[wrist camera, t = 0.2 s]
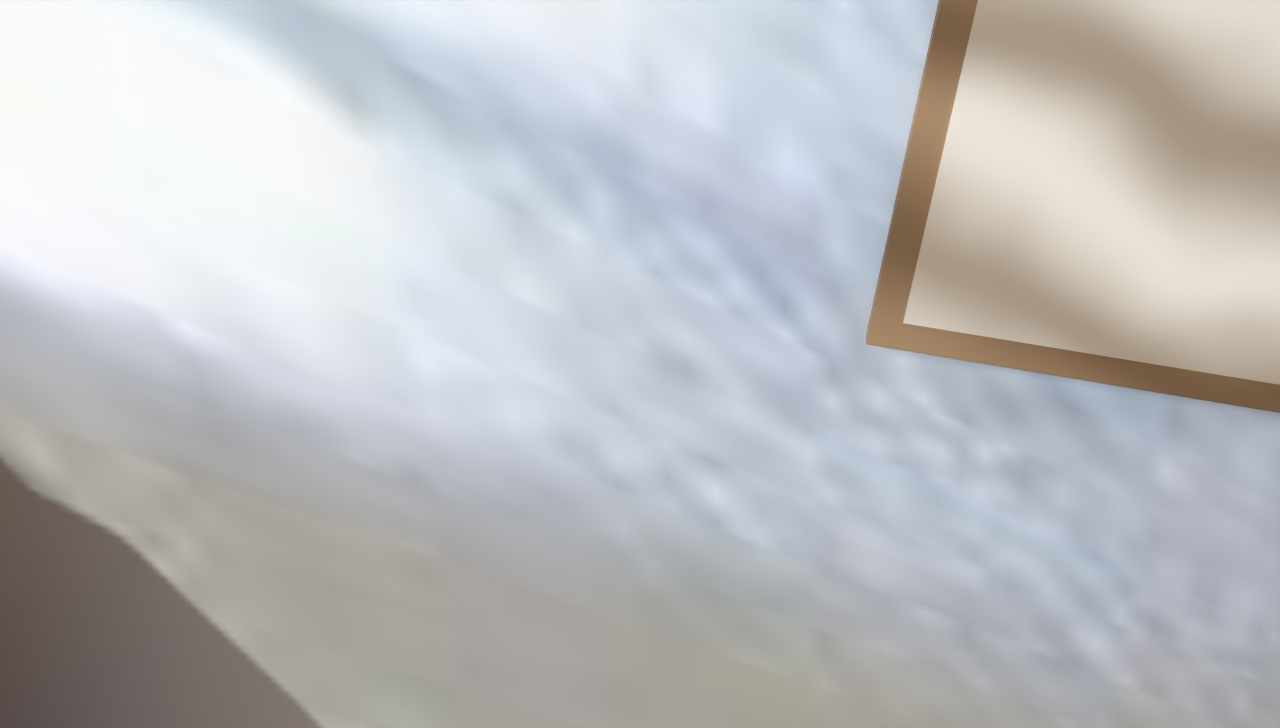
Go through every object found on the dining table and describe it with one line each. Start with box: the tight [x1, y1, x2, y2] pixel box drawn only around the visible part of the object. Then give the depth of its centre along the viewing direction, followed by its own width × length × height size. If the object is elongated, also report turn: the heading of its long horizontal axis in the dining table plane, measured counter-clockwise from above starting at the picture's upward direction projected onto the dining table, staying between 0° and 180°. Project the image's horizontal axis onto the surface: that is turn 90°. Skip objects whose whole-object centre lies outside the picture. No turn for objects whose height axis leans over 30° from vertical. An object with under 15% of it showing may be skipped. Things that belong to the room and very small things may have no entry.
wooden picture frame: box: [866, 0, 1280, 413], centre depth 34 cm, size 18×14×1 cm
